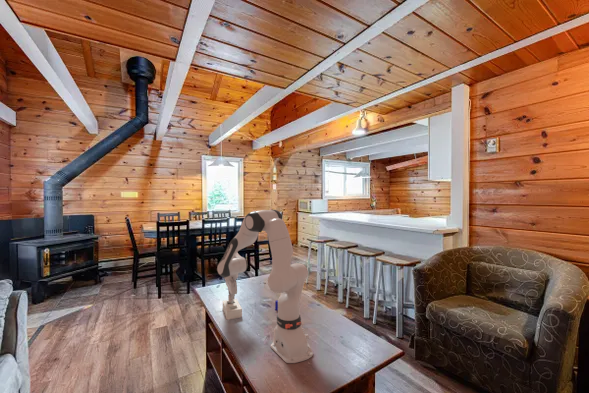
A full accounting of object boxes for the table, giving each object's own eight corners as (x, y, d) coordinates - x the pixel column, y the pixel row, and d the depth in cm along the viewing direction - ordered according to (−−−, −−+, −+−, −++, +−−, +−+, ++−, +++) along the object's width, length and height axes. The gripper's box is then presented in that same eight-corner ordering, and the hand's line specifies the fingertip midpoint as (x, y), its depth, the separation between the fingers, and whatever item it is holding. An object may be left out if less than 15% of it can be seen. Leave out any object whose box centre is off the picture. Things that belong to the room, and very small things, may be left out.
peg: (233, 310, 164) (233, 295, 164) (228, 311, 163) (228, 295, 162) (232, 308, 167) (232, 293, 166) (228, 309, 165) (228, 294, 165)
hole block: (241, 316, 156) (242, 308, 156) (226, 319, 152) (226, 311, 152) (236, 306, 170) (236, 298, 170) (222, 308, 167) (222, 300, 166)
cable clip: (285, 303, 176) (285, 294, 176) (290, 304, 173) (290, 296, 173) (273, 309, 166) (273, 300, 166) (278, 311, 163) (278, 302, 163)
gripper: (239, 279, 156) (239, 301, 156) (233, 270, 175) (233, 290, 175) (229, 280, 153) (229, 303, 154) (223, 271, 172) (223, 291, 172)
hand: (231, 296), depth 164 cm, fingers open, 8 cm apart
